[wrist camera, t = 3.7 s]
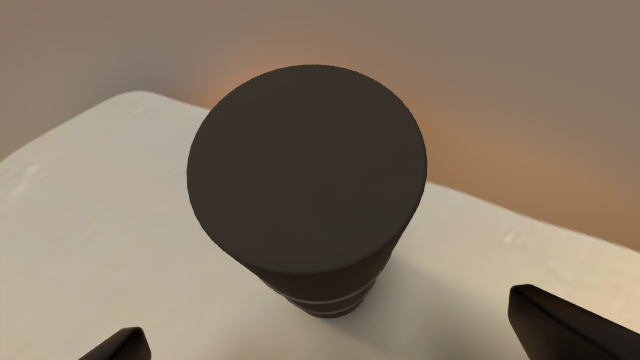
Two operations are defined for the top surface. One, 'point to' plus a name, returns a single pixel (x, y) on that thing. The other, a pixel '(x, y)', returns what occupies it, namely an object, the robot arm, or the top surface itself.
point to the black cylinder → (309, 181)
